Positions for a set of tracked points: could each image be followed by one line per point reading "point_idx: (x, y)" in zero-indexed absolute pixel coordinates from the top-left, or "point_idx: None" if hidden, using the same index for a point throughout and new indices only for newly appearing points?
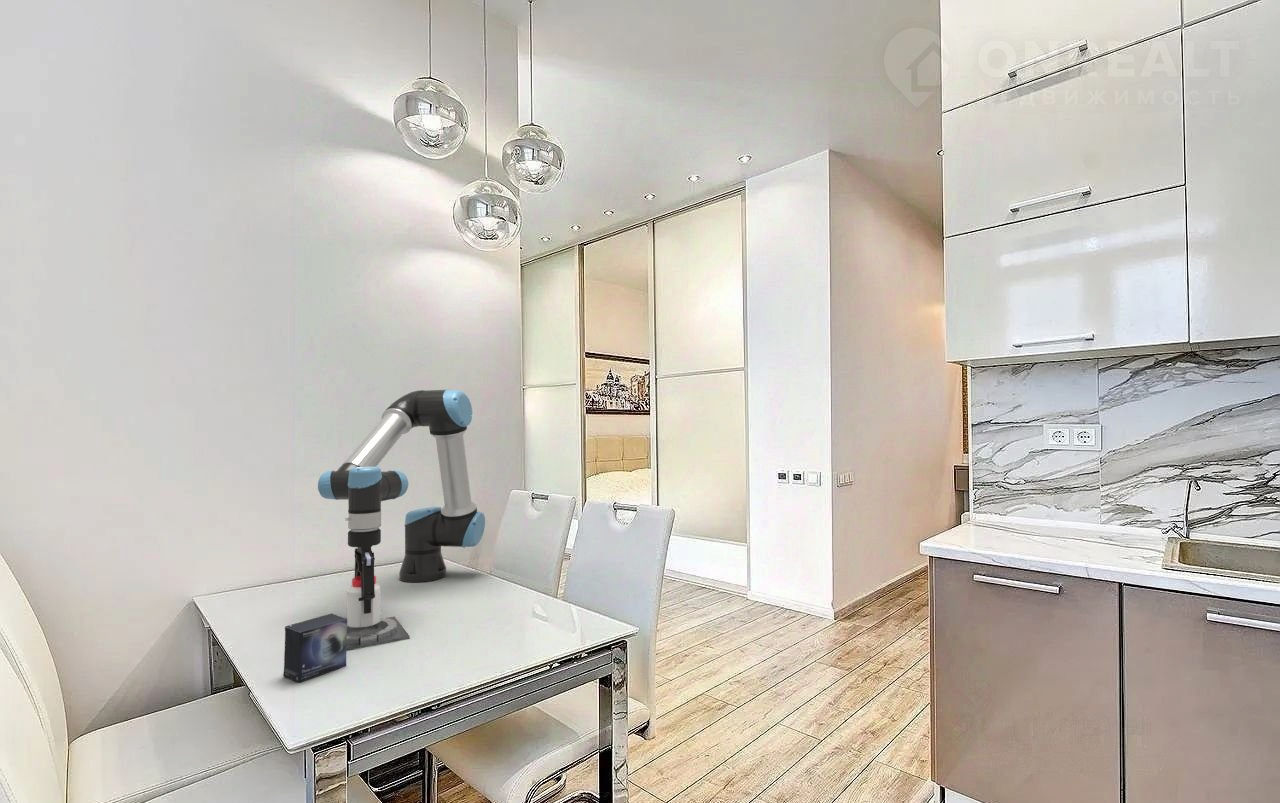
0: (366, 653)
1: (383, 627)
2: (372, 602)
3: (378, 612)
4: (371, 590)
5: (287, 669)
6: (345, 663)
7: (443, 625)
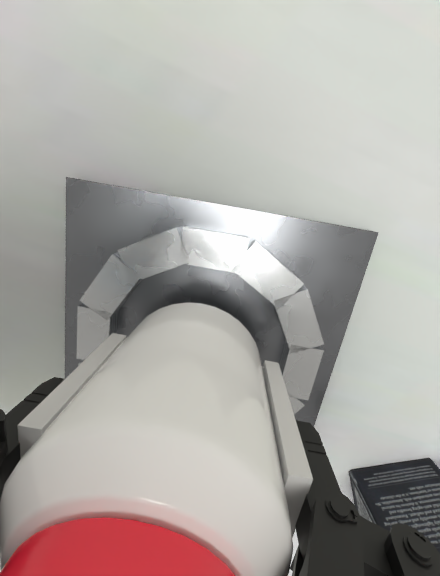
0: (383, 391)
1: (189, 271)
2: (303, 454)
3: (248, 350)
4: None
5: None
6: (438, 468)
7: (332, 18)
